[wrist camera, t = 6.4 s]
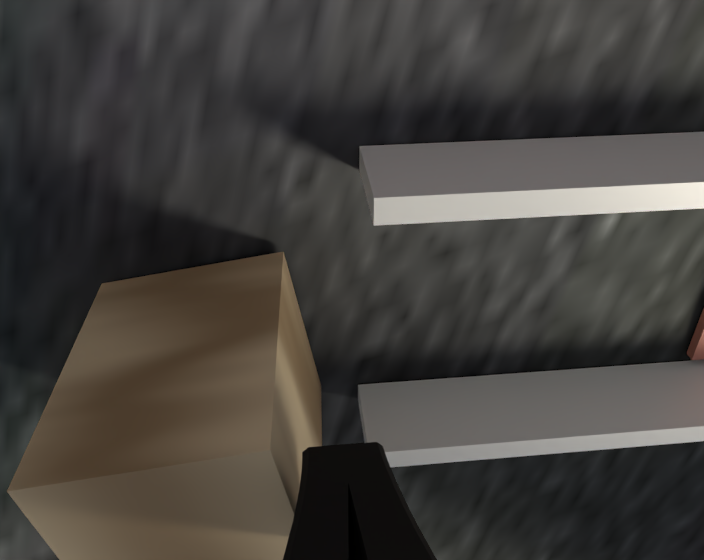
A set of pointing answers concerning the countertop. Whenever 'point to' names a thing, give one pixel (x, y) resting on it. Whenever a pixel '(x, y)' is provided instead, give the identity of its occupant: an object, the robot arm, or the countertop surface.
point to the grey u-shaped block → (544, 386)
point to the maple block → (178, 420)
